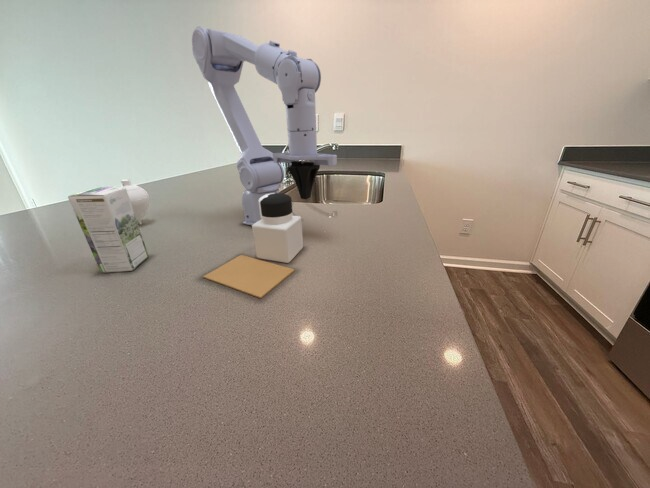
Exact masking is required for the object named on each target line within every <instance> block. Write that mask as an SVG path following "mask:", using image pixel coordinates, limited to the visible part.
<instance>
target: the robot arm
mask: <svg viewBox="0 0 650 488" xmlns="http://www.w3.org/2000/svg"><path fill="white" fill-rule="evenodd" d="M191 45H192V47H191V48H192V56H193V58H194V60H195V62H196V64H197V66H198V68H199V70H200V72H201V75H202V76H203V78H204V79H205V80H206V81H207V83H208V86H209V89H210V92H211V94H212V95H213V97H214V100H215V101H216V104H217V106H218V108H219V110H220V112H221V115H222V116H223V118H224V121H225V122H226V125H227V127H228V129H229V131H230V133H231V135H232V137H233V139H234V142H235V143H236V147H237V148H238V151H239V152H240V154H241V155H240V156H239V158H238V160H237V162H236V165H235V166H236V168H237V169H236V170H238V171H237V172H238V176H239V179H240V183H241V185H242V187H243V188H244V189H245V190H244V191H243V193H242V194H241V195H242V196H241V205H242V210H243V216H244V221H242V224H244V225H248V226H252V225H253V224H254V223H256V222H258V221H259V220H261V216H260V209H259V201H258V200H259V199H260V198H261V197H262V196H264V195H266V194H271V193H280V190H279V189H280V188H281V187H282V186H281V184H282V183H283V182H284V179H285V169H284V167H283V165H282V163H284V164H290V166H287V171H288V172H289V174H290V176H291V177H292V179H293V180H294V183H295V184H296V188H297V190H298V193H299V197H300V199H301V200H308V199H310V198H312V197H311V196H312V190H313V186H314V183H315V180H316V177H317V174H318V172H319V170H320V168H321V166H328V167H334V166H337V165H338V155H337V154H329V153H321V152H320V153H319V152H318V144H317V143H318V142H317V111H316V110H317V108H316V93H317V92H318V90H319V88H320V86H321V82H322V72H321V69H320V67H319V65H318V64H317V63H316V62H315V61H314V60H313V59H312V58H303V57H299V56H297V55H298V53H297V52H296V51H295V50H292V49H288V50H285V49H283V48H281V47H280V42H277V41H274V40H269V42H264V43H261V44H260V45H258V44H256V43H254V42H252V41H250V40H249V39H248V38H245V37H243V36H242V35H239V34H235V33H231V32H227V31H223V30H217V29H212V28H205V27H203V26H196V27H195V28H194V30H193V32H192V35H191ZM244 62H247V63H249V64H251V65H254V67H255V70H256V72H257V74H259V76H261V77H263V78H265V79H267V80H268V81H270V82H272V83H273V84H275V85H277V87H278V89H279V90H280V92H281V97H282V102H283V105H285V116H286V117H285V118H286V129H287V141H288V152H274V153H273V152H272V151H270V150H268V149H267V148H265V147H264V146H263V145H262V143H261V141H260V139H259V137H258V134H257V133H256V129H255V128H254V127H253V124H252V121H251V120H250V117H249V115H248V113H247V111H246V109H245V107H244V105H243V103H242V101H241V98H240V97H239V94H238V92H237V90H236V88H235V85H236V84H238V83H239V82H240V80H241V79H240V78H241V76H242V71H243V67H244Z"/></svg>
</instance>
